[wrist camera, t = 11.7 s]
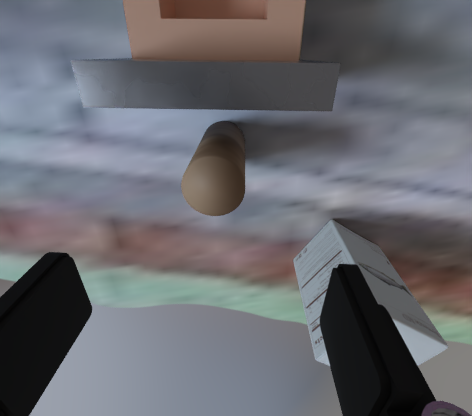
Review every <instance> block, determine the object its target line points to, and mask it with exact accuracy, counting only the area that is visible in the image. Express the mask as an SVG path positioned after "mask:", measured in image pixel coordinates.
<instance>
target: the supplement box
mask: <svg viewBox="0 0 472 416" xmlns="http://www.w3.org/2000/svg"><path fill="white" fill-rule="evenodd" d="M293 261H294V266H295V270H296V275H297V279H298V283H299V288H300V293H301V297H302V301H303V306H304V310H305V315H306V319H307V324H308V328H309V333H310V337H311V342H312V346H313V351H314V355H315V359H316V360H317V361H318V362H321V363H323V364H326V365H328V366H330V363H329V360H328V356H327V352H326V348H325V344H324V340H323V336H322V332H321V328H320V315H321V311H322V307H323V303H324V299H325V296H326V292H327V288H328V284H329V280H330V276H331V272H332V269H333V268H337V267H338V265H339V264H356V265H358V267H359V268H360V270H361V272H362V274H363V276H364V278H365V280H366V282H367V284H368V286H369V288H370V290H371V292H372V293H373V295H374V297H375V299H376V301H377V303H378V304H380V305H383V306H384V307H385V308H386V309H387V311H388V312H389V314H390V316H391V318H392V320H393V321H394V323H395V325H396V327H397V329H398V331H399V332H400V334H401V336H402V338H403V340H404V342H405V344H406V345H407V347H408V349H409V351H410V353H411V355H412V357H413V358H414V360H415V362H416V364H417V366H418V365H420V364H422V363H423V362H425V361H427V360H429V359H430V358H432V357H434V356H435V355H437V354H439V353H441V352H442V351H444V350H445V349H447V348H448V345H447V343H446V342H445V341H444V339H443V338H442V336H441V335H440V334H439V332H438V331H437V329H436V328H435V326H434V325H433V324H432V322H431V321H430V319H429V318H428V316H427V315H426V314H425V312H424V311H423V309H422V308H421V306H420V305H419V303H418V302H417V301H416V299H415V298H414V296H413V295H412V293H411V292H410V290H409V289H408V287H407V286H406V285H405V283H404V282H403V280H402V279H401V277H400V276H399V275H398V273H397V272H396V270H395V269H394V267H393V266H392V264H391V263H390V262H389V260H388V259H387V257H386V256H385V254H384V253H383V251H382V250H381V249H380V247H379V246H378V245H376V244H374V243H372V242H370V241H368V240H366V239H364V238H363V237H361V236H359V235H357V234H355V233H354V232H352V231H350V230H349V229H347V228H345V227H344V226H342V225H340V224H339V223H337V222H336V221H334V220H333V219H331V220H330V221H329V222H328V223H327V224H326V225H325V226H324V227H323V228H322V230H321V231H319V233H318V234H317V235H316V236H315V237H314V238H313V239H312V240H311V241H310V242H309V243H308V244H307V245H306V246H305V247H304V248H303V250H302V251H301V252H300V253H299V254H298V255H297V256H296V257H295V258H294V260H293Z"/></svg>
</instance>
